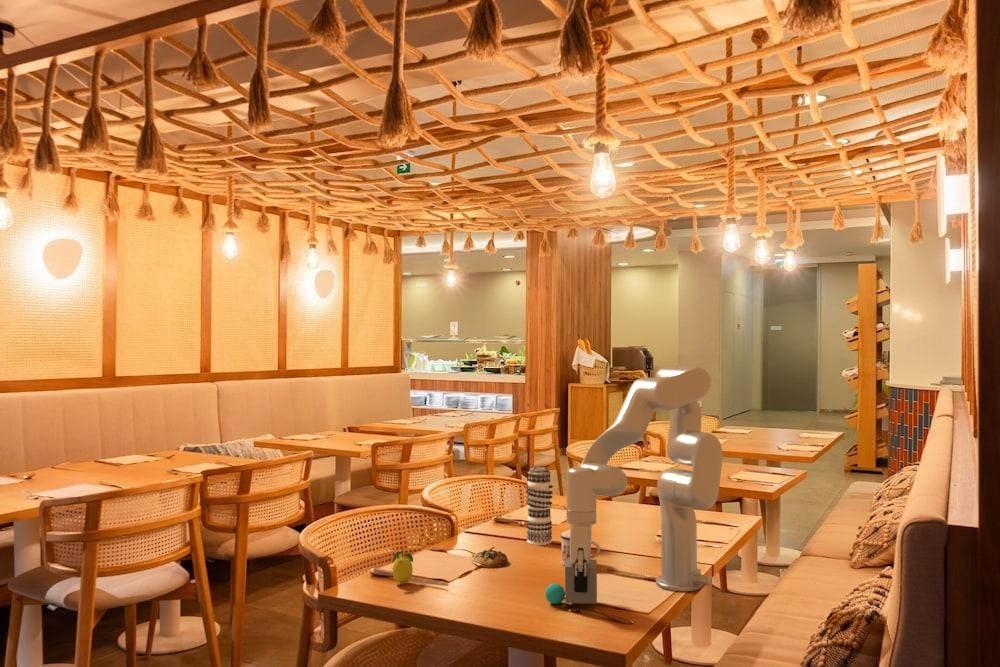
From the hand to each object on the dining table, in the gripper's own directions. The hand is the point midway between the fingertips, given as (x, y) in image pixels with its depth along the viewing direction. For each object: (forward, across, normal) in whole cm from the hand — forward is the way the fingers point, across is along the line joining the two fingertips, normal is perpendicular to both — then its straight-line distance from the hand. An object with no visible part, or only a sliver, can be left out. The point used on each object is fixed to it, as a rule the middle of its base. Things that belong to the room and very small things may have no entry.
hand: (581, 586), depth 189 cm
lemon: (+5, -11, -49) cm, 51 cm away
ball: (+2, 0, -7) cm, 7 cm away
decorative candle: (+5, -63, -16) cm, 65 cm away
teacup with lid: (+5, -37, -1) cm, 37 cm away
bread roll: (+5, -35, -29) cm, 46 cm away
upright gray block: (+3, 0, 0) cm, 3 cm away
